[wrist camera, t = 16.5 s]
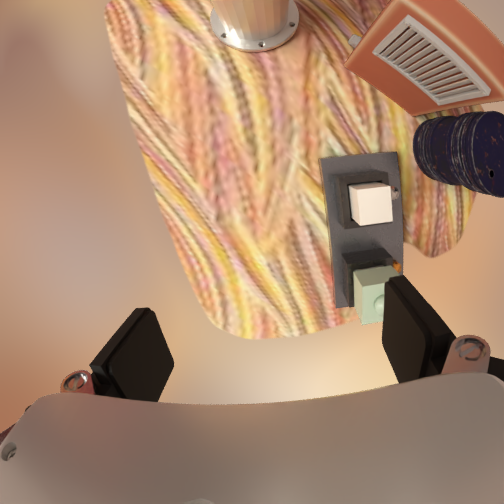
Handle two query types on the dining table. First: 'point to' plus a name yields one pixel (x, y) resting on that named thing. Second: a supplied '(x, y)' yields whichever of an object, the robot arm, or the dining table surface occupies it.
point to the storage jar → (463, 151)
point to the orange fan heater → (430, 56)
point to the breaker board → (349, 231)
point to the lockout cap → (371, 292)
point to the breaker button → (370, 203)
